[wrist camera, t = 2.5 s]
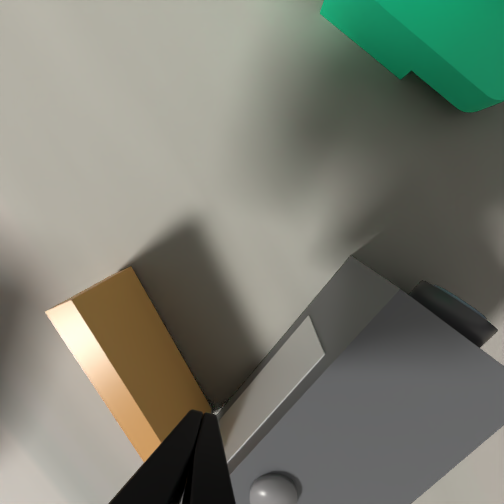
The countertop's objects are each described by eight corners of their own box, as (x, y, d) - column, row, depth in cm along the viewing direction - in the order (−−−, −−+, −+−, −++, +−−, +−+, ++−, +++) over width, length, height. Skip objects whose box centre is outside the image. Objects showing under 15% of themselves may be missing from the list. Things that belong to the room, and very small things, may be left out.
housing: (461, 311, 14) (575, 378, 9) (302, 470, 17) (321, 590, 12) (364, 237, 14) (428, 264, 8) (214, 416, 16) (193, 519, 11)
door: (132, 265, 14) (68, 301, 9) (216, 414, 16) (197, 506, 11) (103, 278, 14) (26, 320, 10) (189, 423, 16) (160, 517, 12)
